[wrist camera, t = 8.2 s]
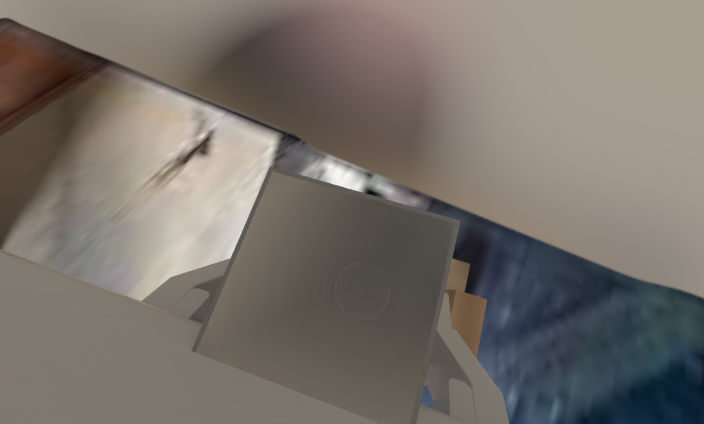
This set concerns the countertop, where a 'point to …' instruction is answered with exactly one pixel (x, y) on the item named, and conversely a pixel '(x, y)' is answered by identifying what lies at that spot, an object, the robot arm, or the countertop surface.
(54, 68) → the countertop surface
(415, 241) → the block
